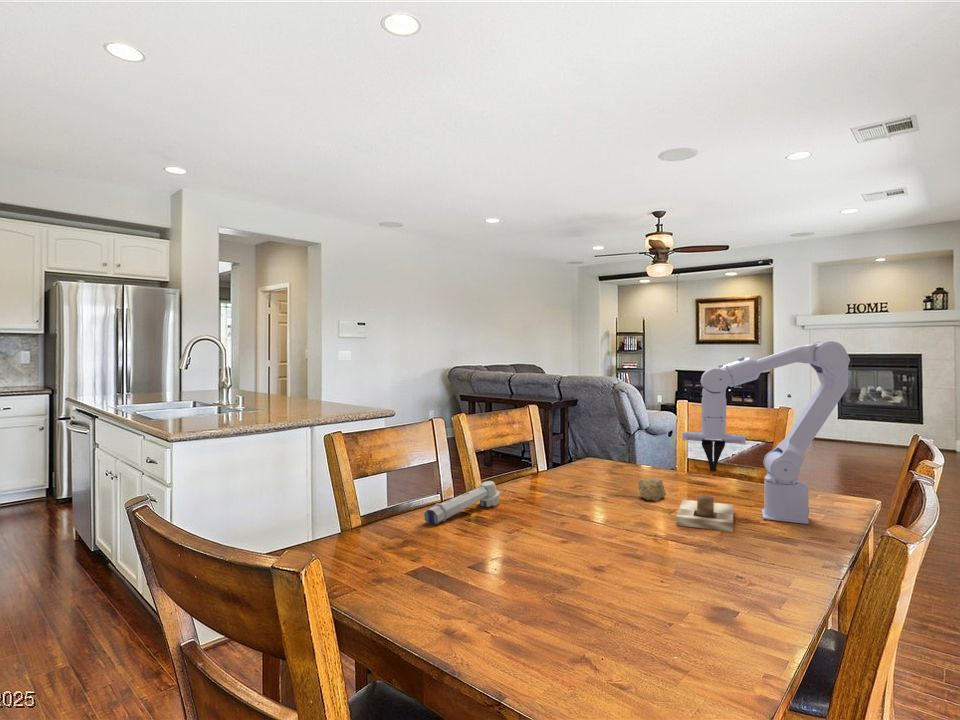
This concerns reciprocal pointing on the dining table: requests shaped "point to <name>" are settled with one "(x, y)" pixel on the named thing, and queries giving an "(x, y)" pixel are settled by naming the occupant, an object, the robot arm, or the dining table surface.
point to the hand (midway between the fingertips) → (713, 470)
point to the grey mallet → (463, 503)
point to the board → (719, 522)
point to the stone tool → (651, 488)
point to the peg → (705, 506)
